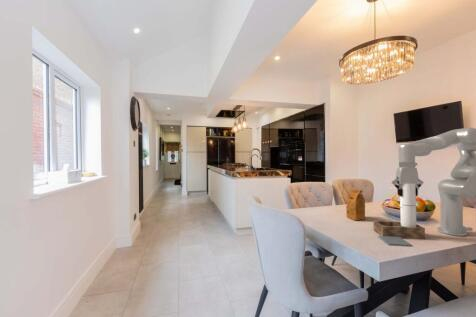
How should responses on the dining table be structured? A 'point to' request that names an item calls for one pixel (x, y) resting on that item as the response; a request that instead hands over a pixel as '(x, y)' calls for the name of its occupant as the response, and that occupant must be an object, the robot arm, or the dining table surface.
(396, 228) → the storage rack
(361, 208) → the coffee package
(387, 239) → the slate coaster
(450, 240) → the dining table surface
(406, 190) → the cylindrical container
